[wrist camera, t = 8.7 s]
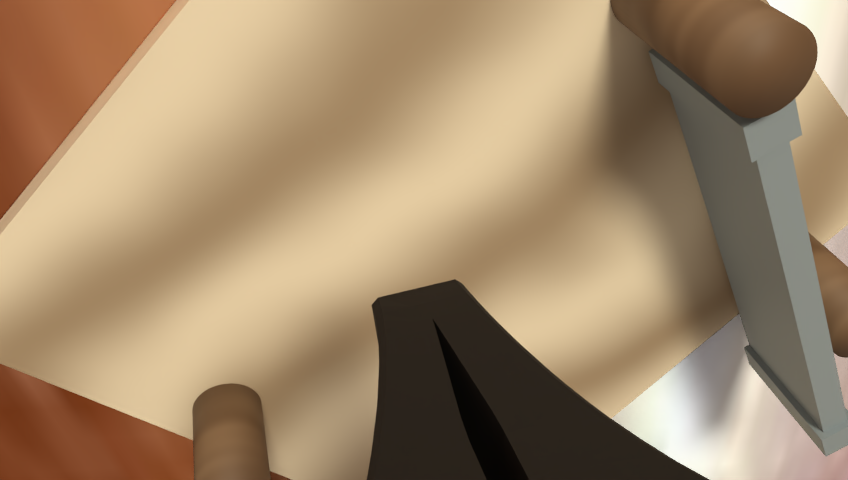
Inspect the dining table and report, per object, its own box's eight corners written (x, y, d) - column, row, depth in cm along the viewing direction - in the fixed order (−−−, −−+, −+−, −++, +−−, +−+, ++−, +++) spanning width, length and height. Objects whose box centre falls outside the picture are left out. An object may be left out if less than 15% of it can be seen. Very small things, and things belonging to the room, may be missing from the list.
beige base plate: (-69, 306, 21) (-141, 497, 16) (482, -382, 15) (621, -403, 10) (449, 523, 32) (498, 673, 27) (873, 169, 26) (1026, 280, 22)
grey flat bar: (647, 47, 20) (741, 124, 17) (690, 23, 20) (794, 95, 16) (749, 364, 28) (825, 456, 25) (780, 347, 28) (861, 438, 25)
